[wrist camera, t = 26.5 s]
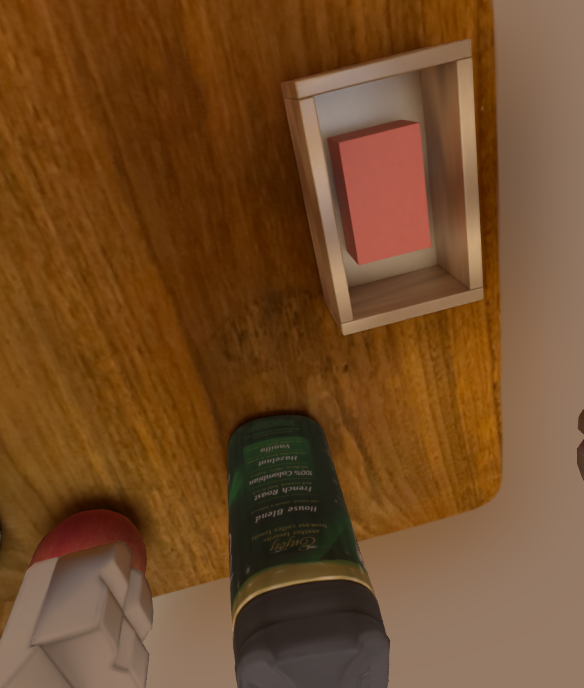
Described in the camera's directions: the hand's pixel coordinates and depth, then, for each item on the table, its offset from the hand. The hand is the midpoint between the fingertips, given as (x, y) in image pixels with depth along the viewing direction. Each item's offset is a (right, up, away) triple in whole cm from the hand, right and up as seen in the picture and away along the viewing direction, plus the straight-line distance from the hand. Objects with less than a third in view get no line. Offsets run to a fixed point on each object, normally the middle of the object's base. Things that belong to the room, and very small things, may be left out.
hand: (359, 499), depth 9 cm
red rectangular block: (+4, +12, +23) cm, 26 cm away
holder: (+4, +13, +23) cm, 27 cm away
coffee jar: (-2, -6, +32) cm, 32 cm away
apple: (-16, -12, +32) cm, 38 cm away
